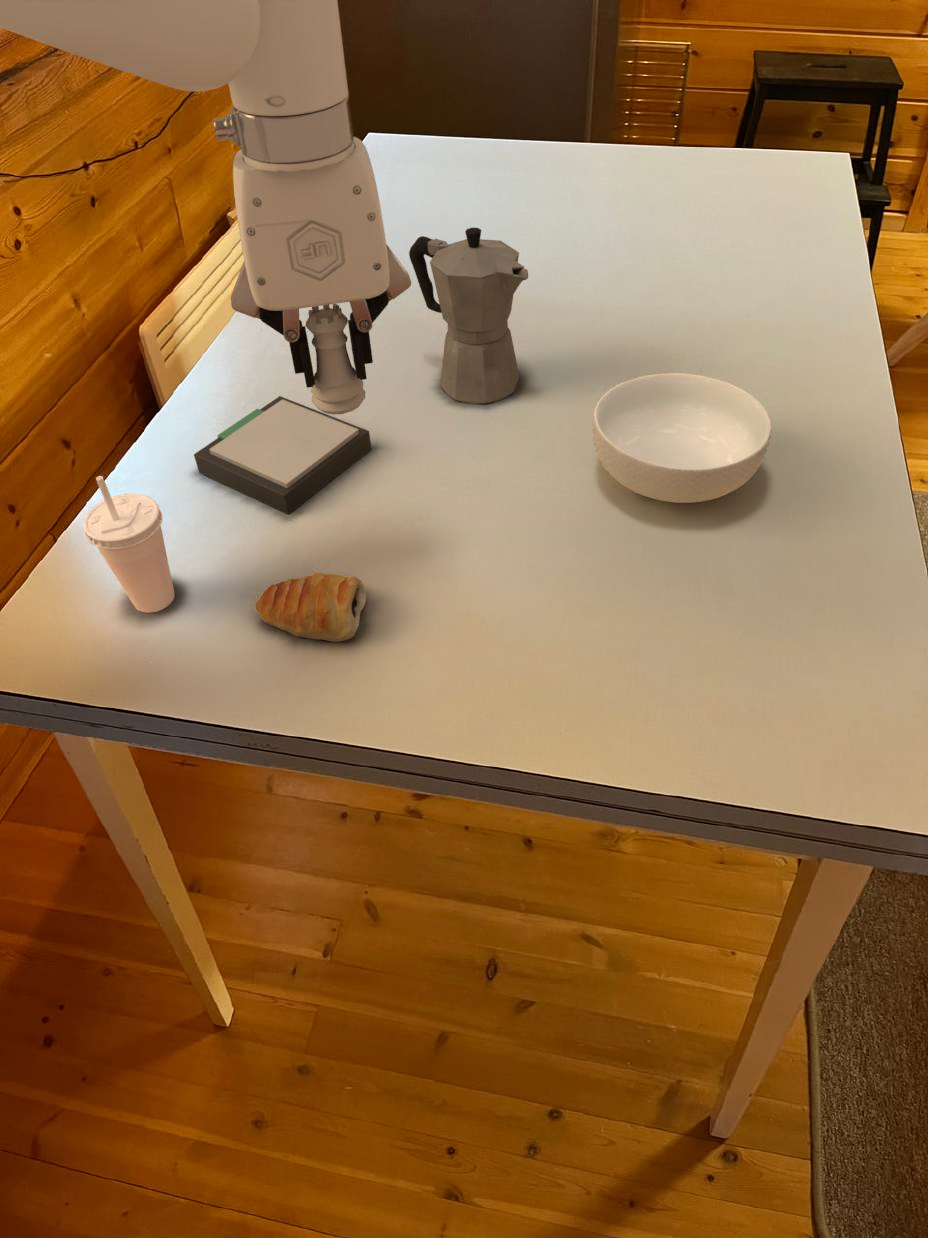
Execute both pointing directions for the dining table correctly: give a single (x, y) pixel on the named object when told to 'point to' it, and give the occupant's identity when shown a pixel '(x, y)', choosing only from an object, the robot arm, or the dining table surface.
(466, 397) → the coffeepot
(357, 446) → the scale
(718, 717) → the dining table surface
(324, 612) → the pastry
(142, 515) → the smoothie
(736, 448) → the cereal bowl
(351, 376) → the rook chess piece
